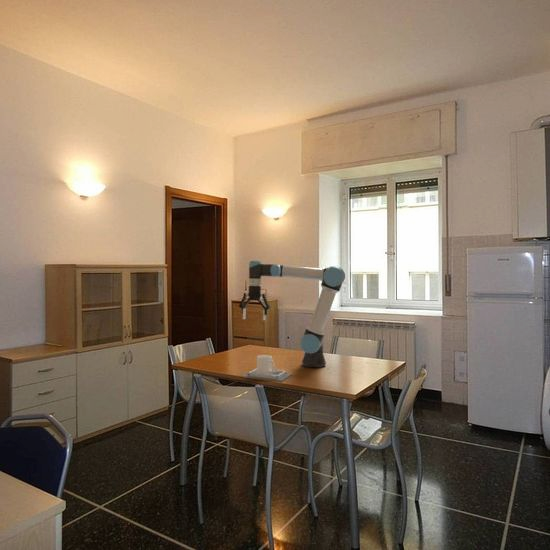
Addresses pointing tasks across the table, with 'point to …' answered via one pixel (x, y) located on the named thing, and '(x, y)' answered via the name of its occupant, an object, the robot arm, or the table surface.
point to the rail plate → (275, 376)
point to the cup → (265, 364)
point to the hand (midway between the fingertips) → (254, 319)
